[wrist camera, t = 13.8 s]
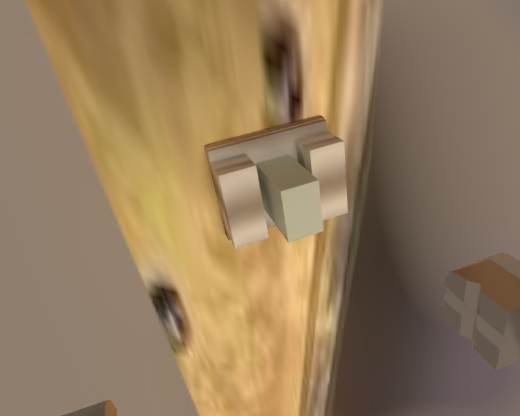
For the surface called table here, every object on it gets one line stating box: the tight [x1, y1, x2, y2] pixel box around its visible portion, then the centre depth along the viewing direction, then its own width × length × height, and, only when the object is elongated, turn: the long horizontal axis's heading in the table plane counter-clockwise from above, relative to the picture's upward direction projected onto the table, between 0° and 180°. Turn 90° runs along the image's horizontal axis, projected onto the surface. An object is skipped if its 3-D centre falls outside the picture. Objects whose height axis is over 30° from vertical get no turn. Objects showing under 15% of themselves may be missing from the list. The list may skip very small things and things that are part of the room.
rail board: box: [205, 116, 348, 248], centre depth 45 cm, size 12×14×6 cm
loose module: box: [256, 154, 323, 242], centre depth 42 cm, size 6×4×8 cm, turn 10°
